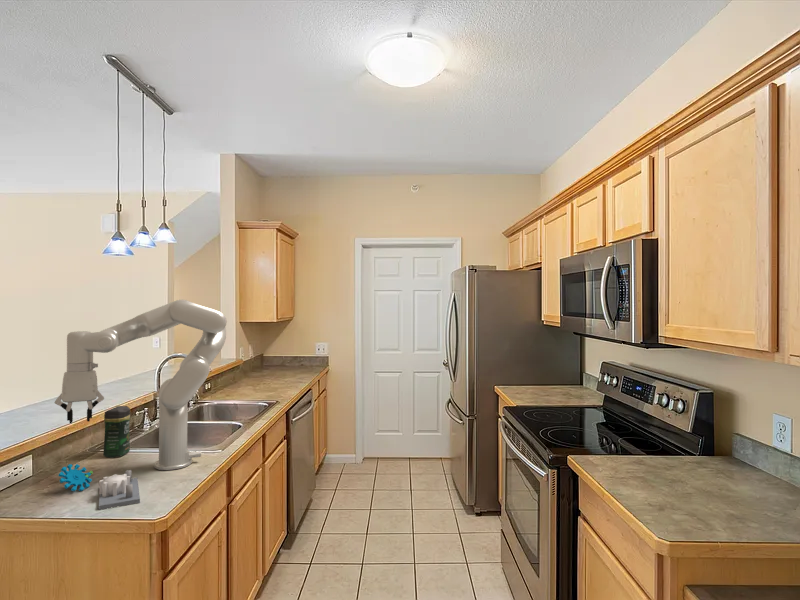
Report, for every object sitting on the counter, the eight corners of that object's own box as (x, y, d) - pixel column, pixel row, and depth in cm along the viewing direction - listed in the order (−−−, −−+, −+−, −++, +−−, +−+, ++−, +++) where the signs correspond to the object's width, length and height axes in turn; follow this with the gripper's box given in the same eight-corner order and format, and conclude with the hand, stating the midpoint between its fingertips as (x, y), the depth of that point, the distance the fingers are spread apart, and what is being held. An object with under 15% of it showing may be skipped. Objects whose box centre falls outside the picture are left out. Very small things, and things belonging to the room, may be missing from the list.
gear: (68, 492, 151) (55, 465, 155) (57, 504, 152) (44, 477, 156) (101, 484, 162) (88, 459, 165) (90, 496, 163) (77, 471, 166)
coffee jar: (122, 458, 188) (122, 409, 188) (100, 458, 188) (100, 410, 188) (133, 450, 198) (133, 404, 198) (112, 450, 197) (112, 404, 197)
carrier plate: (137, 481, 165) (137, 465, 165) (139, 502, 148) (139, 485, 148) (100, 487, 160) (100, 470, 160) (98, 510, 142) (98, 492, 142)
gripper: (108, 365, 175) (108, 416, 175) (51, 368, 167) (50, 422, 167) (108, 367, 169) (108, 421, 169) (48, 370, 160) (48, 427, 160)
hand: (79, 420), depth 168 cm, fingers open, 4 cm apart
